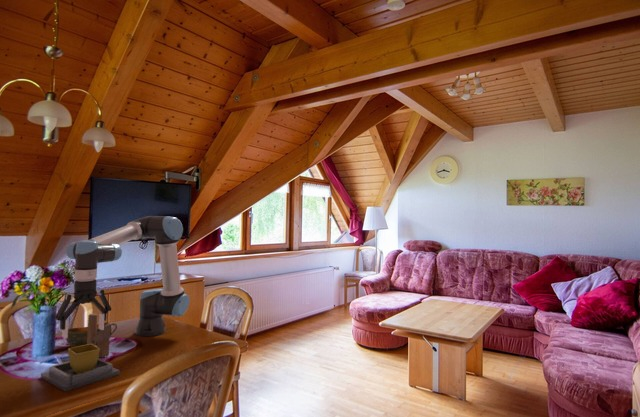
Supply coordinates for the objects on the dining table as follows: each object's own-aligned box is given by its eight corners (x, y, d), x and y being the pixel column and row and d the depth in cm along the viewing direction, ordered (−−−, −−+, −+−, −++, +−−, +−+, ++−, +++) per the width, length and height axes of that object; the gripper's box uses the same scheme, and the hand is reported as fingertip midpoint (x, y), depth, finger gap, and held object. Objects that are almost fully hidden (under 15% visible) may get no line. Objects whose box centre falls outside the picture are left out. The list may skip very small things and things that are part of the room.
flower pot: (99, 371, 155) (100, 348, 155) (74, 377, 148) (75, 353, 148) (90, 365, 160) (91, 343, 160) (66, 371, 153) (67, 348, 154)
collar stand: (94, 362, 167) (94, 353, 167) (119, 374, 156) (120, 364, 156) (40, 377, 151) (41, 367, 151) (64, 391, 140) (65, 380, 140)
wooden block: (102, 358, 172) (104, 317, 173) (84, 354, 176) (86, 314, 176) (109, 355, 176) (111, 315, 176) (91, 352, 179) (93, 313, 180)
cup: (101, 350, 181) (102, 328, 182) (61, 348, 183) (62, 326, 184) (117, 342, 194) (118, 321, 195) (80, 340, 196) (81, 320, 196)
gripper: (54, 285, 142) (52, 343, 142) (121, 277, 163) (119, 327, 162) (45, 282, 146) (43, 339, 146) (112, 274, 167) (110, 324, 167)
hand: (83, 333), depth 154 cm, fingers open, 13 cm apart
